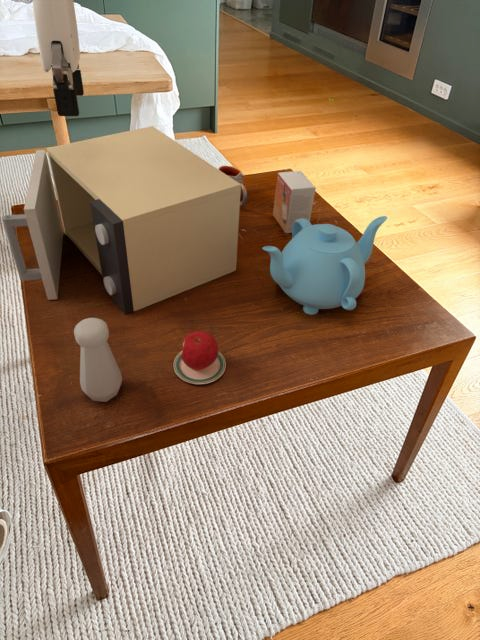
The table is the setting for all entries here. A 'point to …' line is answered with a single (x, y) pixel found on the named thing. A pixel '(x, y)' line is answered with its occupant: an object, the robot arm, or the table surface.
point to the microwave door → (39, 228)
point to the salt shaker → (97, 361)
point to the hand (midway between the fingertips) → (71, 104)
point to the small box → (292, 199)
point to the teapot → (323, 265)
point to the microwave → (146, 214)
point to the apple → (199, 359)
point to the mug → (237, 176)
